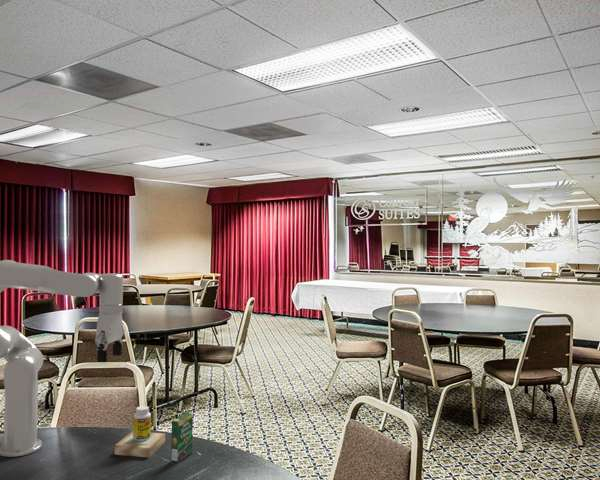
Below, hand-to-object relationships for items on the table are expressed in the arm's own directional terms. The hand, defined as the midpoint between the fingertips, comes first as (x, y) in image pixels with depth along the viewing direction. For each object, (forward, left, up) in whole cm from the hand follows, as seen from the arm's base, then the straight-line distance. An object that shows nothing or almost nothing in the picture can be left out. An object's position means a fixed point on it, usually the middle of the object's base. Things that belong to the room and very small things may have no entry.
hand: (109, 358), depth 168 cm
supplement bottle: (+14, -4, -25) cm, 29 cm away
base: (+14, -4, -28) cm, 32 cm away
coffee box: (+30, -8, -28) cm, 42 cm away
